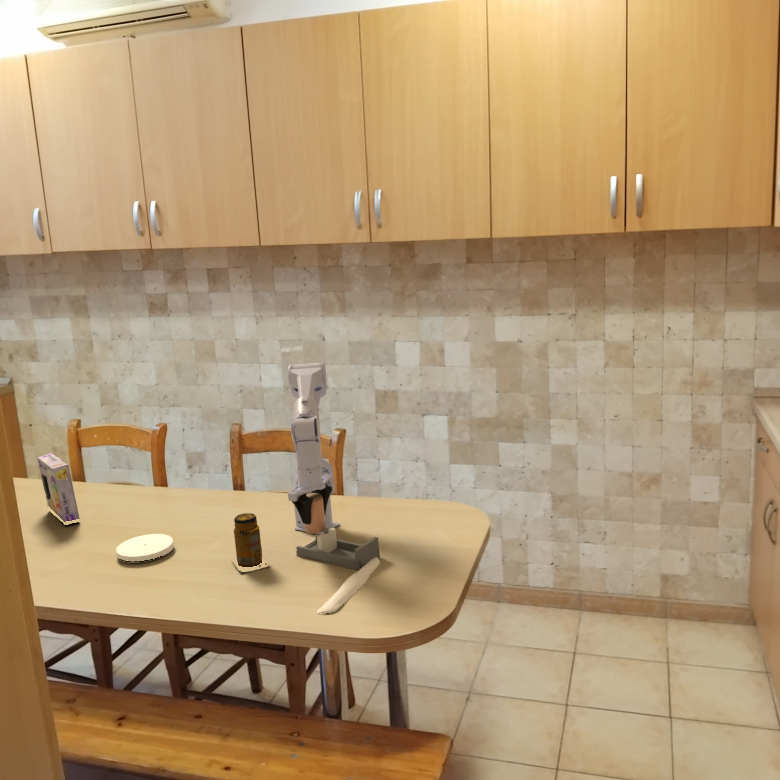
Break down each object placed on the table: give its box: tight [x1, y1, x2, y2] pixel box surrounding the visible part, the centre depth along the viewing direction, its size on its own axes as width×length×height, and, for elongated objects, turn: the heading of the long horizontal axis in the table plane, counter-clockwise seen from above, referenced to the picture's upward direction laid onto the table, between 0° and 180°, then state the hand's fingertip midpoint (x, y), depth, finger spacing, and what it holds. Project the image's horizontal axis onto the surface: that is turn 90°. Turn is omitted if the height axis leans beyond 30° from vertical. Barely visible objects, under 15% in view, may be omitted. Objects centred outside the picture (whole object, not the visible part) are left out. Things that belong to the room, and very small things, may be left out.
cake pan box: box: [37, 452, 81, 522], centre depth 231 cm, size 19×5×18 cm, turn 36°
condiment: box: [233, 512, 269, 567], centre depth 190 cm, size 7×8×12 cm
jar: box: [304, 493, 326, 535], centre depth 194 cm, size 5×5×9 cm
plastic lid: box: [115, 533, 175, 562], centre depth 202 cm, size 14×14×2 cm
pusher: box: [317, 528, 337, 553], centre depth 194 cm, size 1×6×6 cm, turn 146°
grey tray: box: [295, 534, 381, 571], centre depth 192 cm, size 19×8×5 cm, turn 56°
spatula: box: [316, 557, 381, 615], centre depth 177 cm, size 28×4×2 cm, turn 155°
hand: (314, 519), depth 194 cm, fingers closed on jar, 5 cm apart
